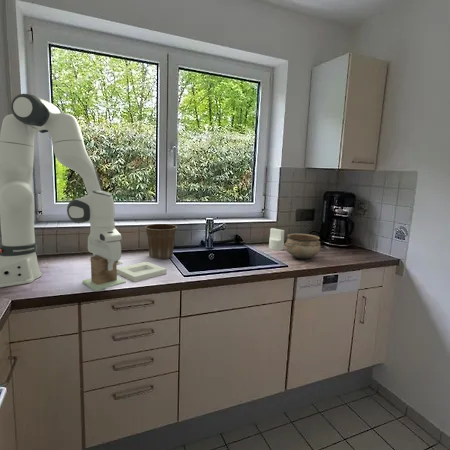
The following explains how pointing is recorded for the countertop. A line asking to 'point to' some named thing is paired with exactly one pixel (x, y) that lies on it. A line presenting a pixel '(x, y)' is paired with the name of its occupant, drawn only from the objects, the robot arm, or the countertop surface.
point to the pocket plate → (141, 271)
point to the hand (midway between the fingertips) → (103, 267)
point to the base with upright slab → (276, 239)
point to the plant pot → (161, 240)
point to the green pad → (102, 286)
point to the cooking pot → (302, 245)
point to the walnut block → (102, 271)
